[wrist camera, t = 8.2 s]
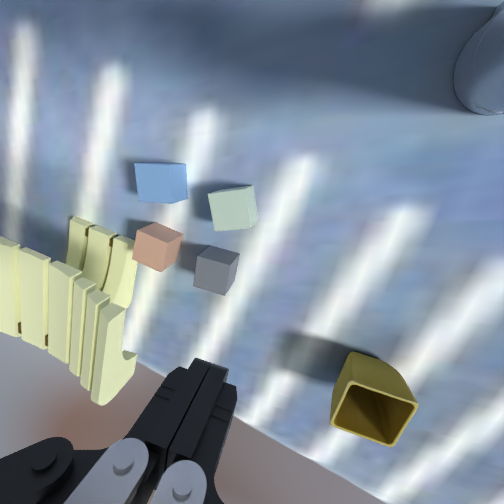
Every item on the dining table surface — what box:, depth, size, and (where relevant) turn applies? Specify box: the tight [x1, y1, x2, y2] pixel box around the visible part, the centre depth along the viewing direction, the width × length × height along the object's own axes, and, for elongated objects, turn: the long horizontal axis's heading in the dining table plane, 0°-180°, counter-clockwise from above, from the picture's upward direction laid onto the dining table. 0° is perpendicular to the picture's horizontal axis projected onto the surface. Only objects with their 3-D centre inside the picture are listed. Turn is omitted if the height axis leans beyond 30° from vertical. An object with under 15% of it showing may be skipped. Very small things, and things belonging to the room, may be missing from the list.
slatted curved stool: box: [0, 216, 138, 405], centre depth 40 cm, size 30×16×18 cm, turn 72°
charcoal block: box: [193, 246, 240, 296], centre depth 40 cm, size 5×5×5 cm
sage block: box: [208, 185, 258, 231], centre depth 36 cm, size 5×5×5 cm
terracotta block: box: [132, 223, 183, 272], centre depth 41 cm, size 5×5×5 cm
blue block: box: [134, 163, 188, 204], centre depth 37 cm, size 5×5×5 cm
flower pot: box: [330, 351, 418, 447], centre depth 39 cm, size 9×9×9 cm
